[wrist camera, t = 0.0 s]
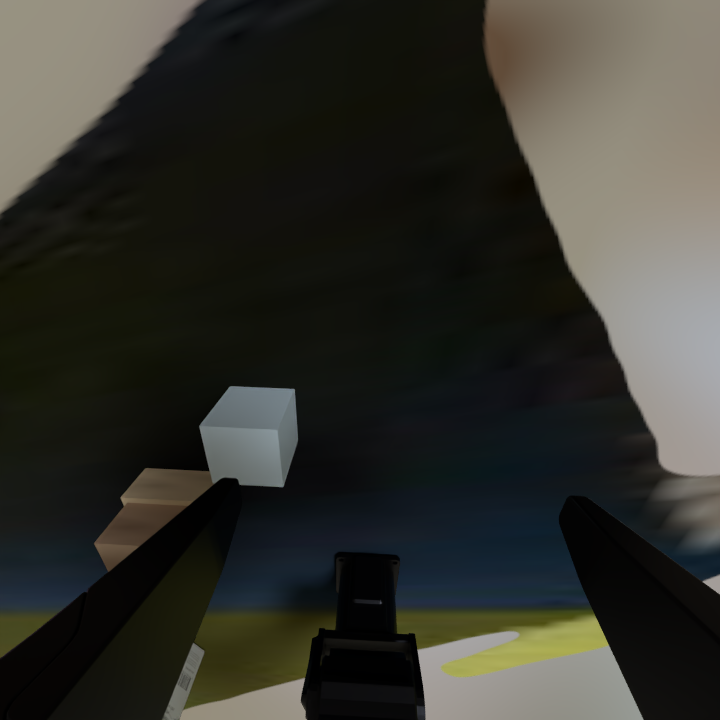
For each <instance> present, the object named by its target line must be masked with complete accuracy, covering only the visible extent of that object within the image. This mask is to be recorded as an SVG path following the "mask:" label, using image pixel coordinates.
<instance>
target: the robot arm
mask: <svg viewBox="0 0 720 720" xmlns="http://www.w3.org/2000/svg"><path fill="white" fill-rule="evenodd" d="M241 505H242V496H241V491H240V485H239V481H238V479H237V478H227V477H224V478H221V479H220V480H218V481H217V482H216V483H215V484H214V485H212V486H211V487H210V488H209V489H208V490H206V491H205V492H204V493H203V494H202V495H200V496H199V497H198V498H197V499H196V500H194V501H193V502H192V503H191V504H190V505H188V506H187V507H186V508H185V509H183V510H182V511H181V512H180V513H179V514H177V515H176V516H175V517H174V518H173V519H171V520H170V521H169V522H168V523H167V524H165V525H164V526H163V527H162V528H161V529H159V530H158V531H157V532H156V533H155V534H153V535H152V536H151V537H150V538H149V539H147V540H146V541H145V542H144V543H143V544H141V545H140V546H139V547H138V548H137V549H135V550H134V551H133V552H132V553H131V554H129V555H128V556H127V557H126V558H124V559H123V560H122V561H121V562H120V563H118V564H117V565H116V566H115V567H114V568H112V569H111V570H110V571H109V572H108V573H106V574H105V575H104V576H103V577H102V578H100V579H99V580H98V581H97V582H96V583H94V584H93V585H92V586H91V587H90V588H88V590H87V592H84V593H82V594H81V595H80V596H79V597H77V598H76V599H75V600H74V601H73V602H71V603H70V604H69V605H68V606H66V607H65V608H64V609H63V610H62V611H60V612H59V613H58V614H57V615H55V616H54V617H53V618H52V619H50V620H49V621H48V622H47V623H45V624H44V625H43V626H42V627H40V628H39V629H38V630H37V631H36V632H34V633H33V634H32V635H30V636H29V637H28V638H26V639H25V640H24V641H22V642H21V643H20V644H19V645H17V646H16V647H15V648H13V649H12V650H11V651H9V652H8V653H7V654H5V655H4V656H3V657H1V658H0V720H162V719H163V717H164V714H165V712H166V709H167V707H168V704H169V702H170V699H171V697H172V694H173V692H174V689H175V687H176V684H177V682H178V679H179V677H180V674H181V672H182V669H183V667H184V665H185V662H186V660H187V657H188V655H189V652H190V650H191V647H192V645H193V642H194V640H195V637H196V635H197V632H198V630H199V627H200V625H201V622H202V620H203V617H204V615H205V612H206V610H207V607H208V605H209V602H210V600H211V597H212V595H213V592H214V590H215V587H216V585H217V582H218V580H219V577H220V575H221V572H222V570H223V567H224V564H225V561H226V558H227V554H228V551H229V547H230V544H231V541H232V537H233V534H234V530H235V527H236V523H237V520H238V516H239V513H240V510H241ZM559 524H560V527H561V530H562V533H563V536H564V538H565V541H566V544H567V547H568V550H569V552H570V555H571V558H572V561H573V564H574V566H575V569H576V572H577V575H578V577H579V580H580V582H581V585H582V587H583V590H584V592H585V594H586V596H587V599H588V601H589V603H590V605H591V607H592V609H593V612H594V614H595V616H596V618H597V620H598V622H599V624H600V627H601V629H602V631H603V633H604V635H605V637H606V640H607V642H608V644H609V646H610V648H611V650H612V652H613V655H614V656H615V659H616V661H617V663H618V665H619V668H620V670H621V672H622V674H623V676H624V678H625V680H626V683H627V685H628V687H629V689H630V691H631V693H632V696H633V698H634V700H635V702H636V704H637V706H638V708H639V711H640V713H641V715H642V717H643V719H644V720H720V594H718V593H717V592H716V591H714V590H713V589H711V588H710V587H709V586H707V585H706V584H705V583H703V582H702V581H701V580H699V579H698V578H696V577H695V576H694V575H692V574H691V573H690V572H688V571H687V570H686V569H684V568H683V567H681V566H680V565H679V564H677V563H676V562H675V561H673V560H672V559H671V558H669V557H668V556H667V555H665V554H664V553H662V552H661V551H660V550H658V549H657V548H656V547H654V546H653V545H652V544H650V543H649V542H647V541H646V540H645V539H643V538H642V537H641V536H639V535H638V534H637V533H635V532H634V531H632V530H631V529H630V528H628V527H627V526H626V525H624V524H623V523H622V522H620V521H619V520H618V519H616V518H615V517H613V516H612V515H611V514H609V513H608V512H607V511H605V510H604V509H603V508H601V507H600V506H598V505H597V504H596V503H594V502H593V501H592V500H590V499H589V498H587V497H584V496H569V497H568V498H567V499H566V501H565V504H564V506H563V508H562V510H561V512H560V515H559ZM399 566H400V559H399V557H397V556H385V555H366V554H348V553H339V554H337V557H336V592H337V593H338V605H337V616H336V628H335V630H325V628H319V634H318V636H316V637H314V638H312V644H311V651H310V658H309V664H308V668H307V673H306V677H305V682H304V686H303V691H302V696H301V703H302V705H303V707H304V709H305V711H306V719H307V720H425V701H424V691H423V683H422V677H421V671H420V664H419V658H418V651H417V645H416V638H415V634H413V633H409V634H397V623H396V605H395V595H396V588H397V581H398V574H399Z"/></svg>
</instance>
